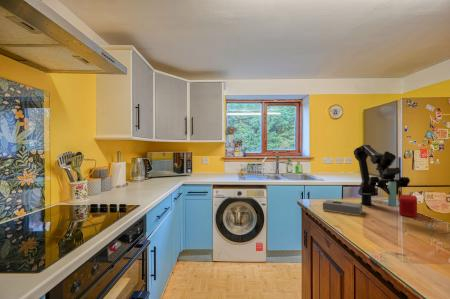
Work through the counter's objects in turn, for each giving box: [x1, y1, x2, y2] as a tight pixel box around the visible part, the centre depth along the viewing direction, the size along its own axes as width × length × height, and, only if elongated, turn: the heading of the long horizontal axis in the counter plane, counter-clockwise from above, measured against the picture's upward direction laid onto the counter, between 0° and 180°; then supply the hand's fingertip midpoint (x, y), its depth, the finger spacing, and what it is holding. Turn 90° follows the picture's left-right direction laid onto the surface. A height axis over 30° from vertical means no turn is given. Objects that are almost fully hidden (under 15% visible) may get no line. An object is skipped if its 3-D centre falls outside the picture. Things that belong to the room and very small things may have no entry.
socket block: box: [322, 199, 363, 216], centre depth 144 cm, size 10×20×4 cm, turn 51°
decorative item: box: [397, 194, 418, 218], centre depth 136 cm, size 15×9×10 cm, turn 141°
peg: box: [387, 182, 397, 208], centre depth 127 cm, size 4×4×13 cm
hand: (393, 194), depth 125 cm, fingers closed on peg, 4 cm apart
